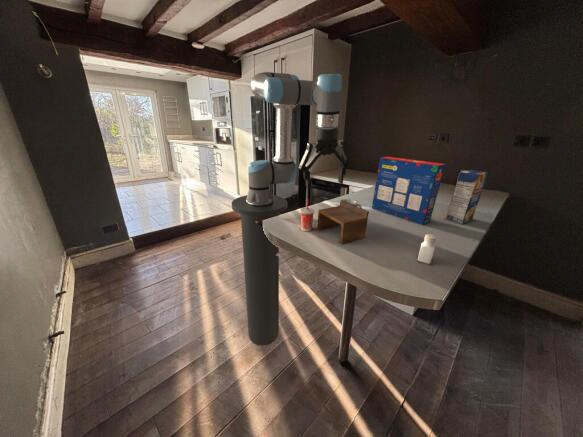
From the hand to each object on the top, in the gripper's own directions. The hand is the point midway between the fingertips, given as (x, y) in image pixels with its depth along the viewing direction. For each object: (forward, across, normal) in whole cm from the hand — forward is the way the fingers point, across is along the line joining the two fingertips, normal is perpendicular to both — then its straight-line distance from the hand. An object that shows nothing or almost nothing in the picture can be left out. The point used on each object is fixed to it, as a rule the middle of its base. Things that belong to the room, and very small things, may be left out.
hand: (324, 185), depth 90 cm
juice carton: (+28, +74, -3) cm, 79 cm away
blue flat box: (+28, +48, +10) cm, 56 cm away
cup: (+26, +20, +13) cm, 35 cm away
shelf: (+22, +7, -3) cm, 23 cm away
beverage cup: (+22, -6, +4) cm, 23 cm away
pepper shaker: (+20, +26, -30) cm, 45 cm away
